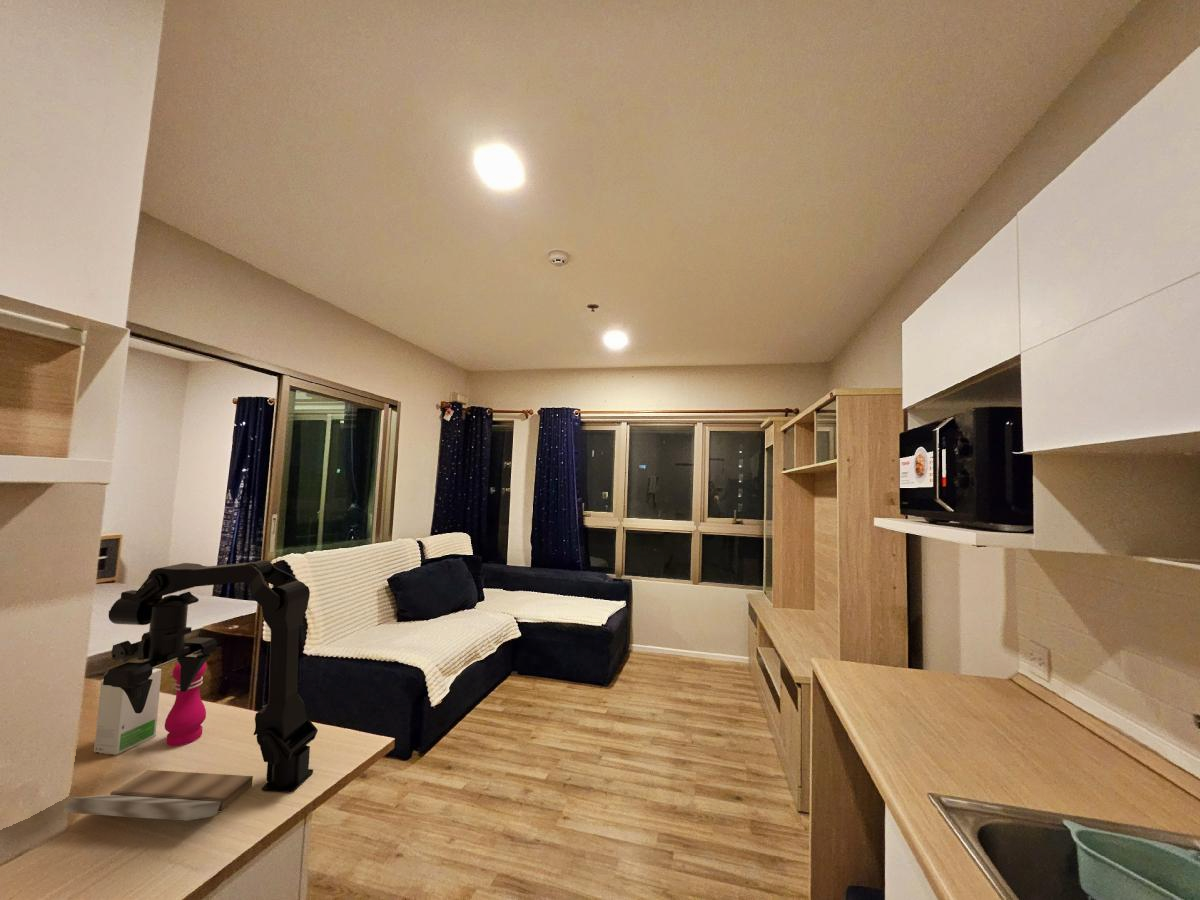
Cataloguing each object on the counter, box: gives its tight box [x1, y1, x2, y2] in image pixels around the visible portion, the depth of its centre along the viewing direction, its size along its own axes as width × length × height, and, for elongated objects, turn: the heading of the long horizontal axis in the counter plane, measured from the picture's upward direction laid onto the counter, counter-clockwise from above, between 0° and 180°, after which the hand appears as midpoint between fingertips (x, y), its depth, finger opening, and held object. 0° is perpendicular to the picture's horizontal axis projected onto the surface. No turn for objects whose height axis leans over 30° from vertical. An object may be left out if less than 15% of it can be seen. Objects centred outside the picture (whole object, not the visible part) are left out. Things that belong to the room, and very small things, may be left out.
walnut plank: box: [109, 769, 254, 812], centre depth 89 cm, size 22×7×2 cm, turn 88°
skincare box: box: [93, 668, 162, 756], centre depth 105 cm, size 8×7×16 cm
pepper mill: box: [164, 661, 208, 747], centre depth 107 cm, size 7×7×20 cm
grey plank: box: [63, 794, 221, 821], centre depth 82 cm, size 22×7×2 cm, turn 88°
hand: (162, 701), depth 95 cm, fingers open, 9 cm apart
